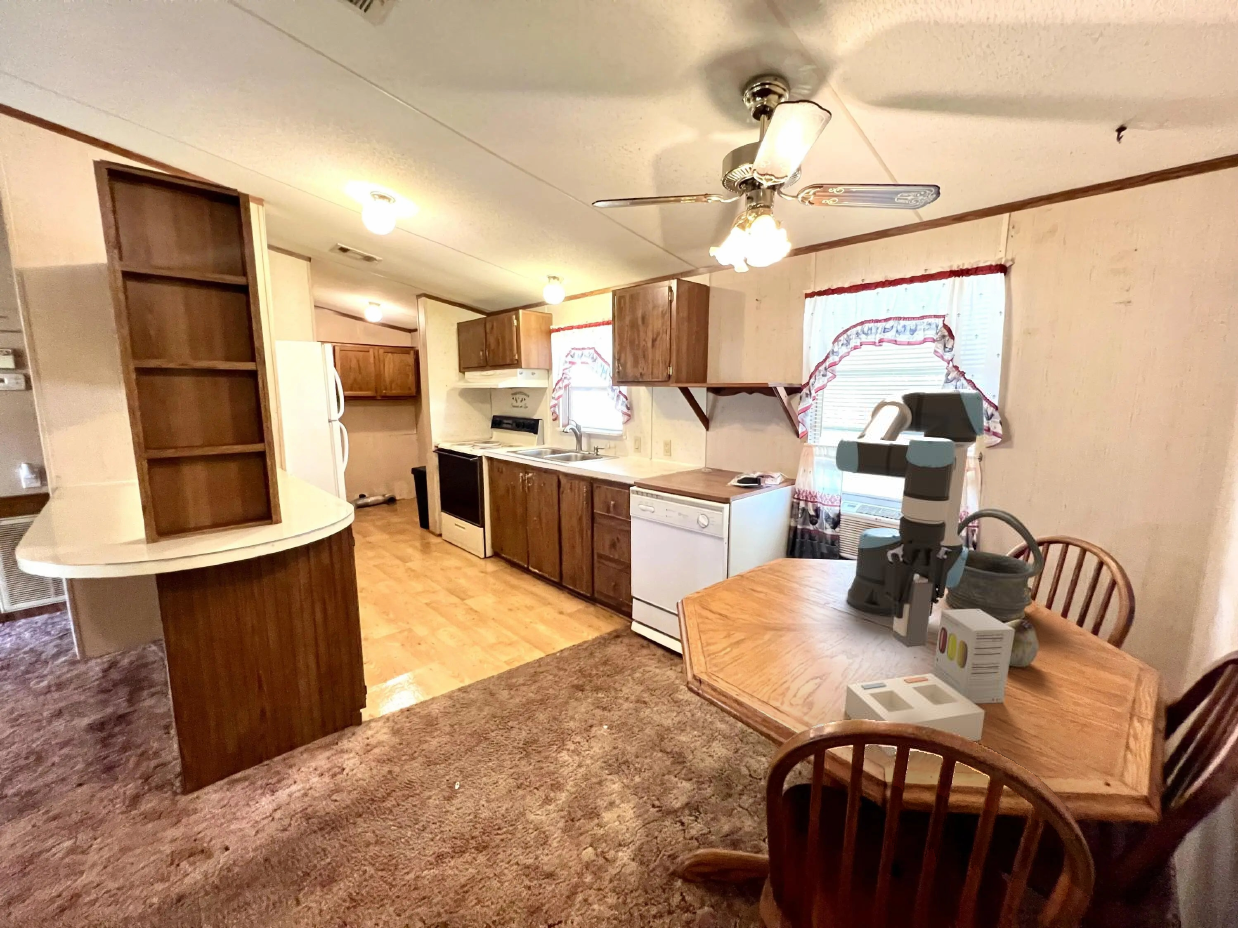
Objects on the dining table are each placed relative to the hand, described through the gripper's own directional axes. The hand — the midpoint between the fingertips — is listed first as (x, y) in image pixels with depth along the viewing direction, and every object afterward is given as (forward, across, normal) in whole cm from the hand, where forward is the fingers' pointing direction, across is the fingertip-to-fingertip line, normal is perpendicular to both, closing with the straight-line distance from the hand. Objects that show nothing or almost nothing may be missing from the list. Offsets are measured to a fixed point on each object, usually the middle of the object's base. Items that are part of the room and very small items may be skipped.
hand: (909, 631), depth 95 cm
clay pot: (+17, -59, -37) cm, 71 cm away
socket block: (+17, +2, +4) cm, 18 cm away
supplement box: (+17, -19, -3) cm, 26 cm away
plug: (+2, 0, 0) cm, 2 cm away
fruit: (+17, -39, -11) cm, 44 cm away
